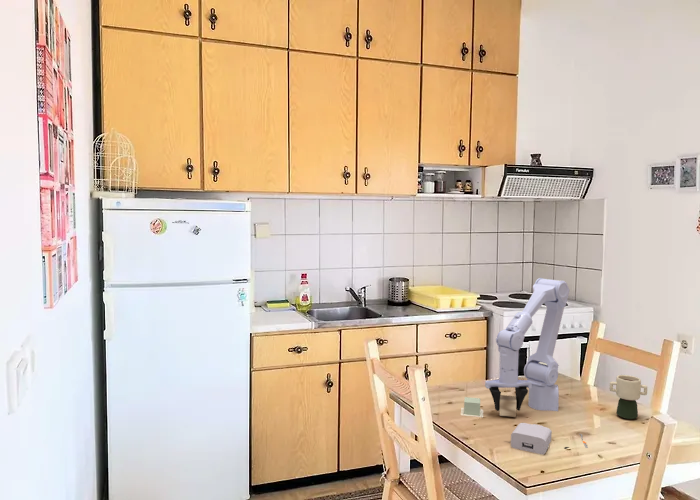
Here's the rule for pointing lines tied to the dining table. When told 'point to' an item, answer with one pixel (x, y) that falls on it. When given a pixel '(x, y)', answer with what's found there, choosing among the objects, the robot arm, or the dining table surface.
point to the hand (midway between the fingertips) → (507, 409)
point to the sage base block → (472, 406)
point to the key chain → (583, 442)
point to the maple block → (507, 406)
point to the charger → (531, 438)
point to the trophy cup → (628, 395)
